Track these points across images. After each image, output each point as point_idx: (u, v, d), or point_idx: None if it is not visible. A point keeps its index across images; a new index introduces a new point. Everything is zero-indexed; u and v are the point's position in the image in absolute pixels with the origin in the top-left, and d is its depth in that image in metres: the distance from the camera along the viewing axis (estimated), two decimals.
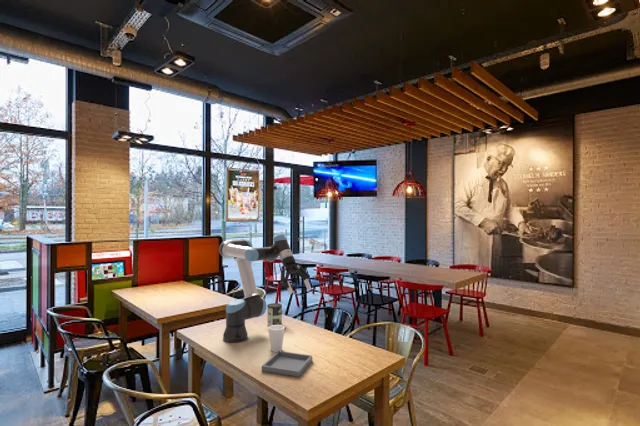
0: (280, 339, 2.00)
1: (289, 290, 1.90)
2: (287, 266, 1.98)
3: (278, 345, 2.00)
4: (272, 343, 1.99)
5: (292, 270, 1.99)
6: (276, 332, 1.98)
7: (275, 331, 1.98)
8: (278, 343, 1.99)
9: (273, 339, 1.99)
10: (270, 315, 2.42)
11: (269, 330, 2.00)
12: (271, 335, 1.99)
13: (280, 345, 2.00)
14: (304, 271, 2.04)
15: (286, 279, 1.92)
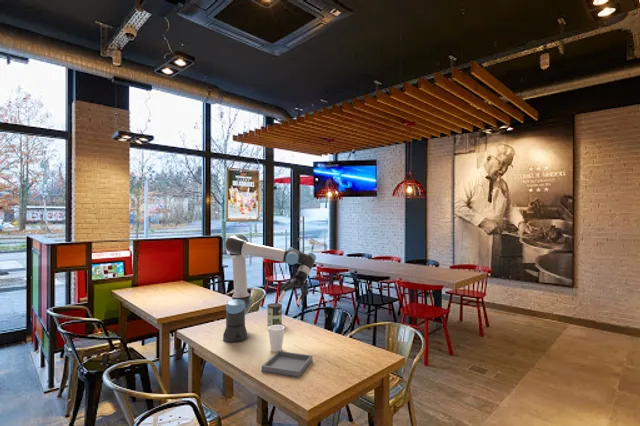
0: (280, 339, 2.00)
1: (299, 300, 2.10)
2: None
3: (278, 345, 2.00)
4: (272, 343, 1.99)
5: None
6: (276, 332, 1.98)
7: (275, 331, 1.98)
8: (278, 343, 1.99)
9: (273, 339, 1.99)
10: (270, 315, 2.42)
11: (269, 330, 2.00)
12: (271, 335, 1.99)
13: (280, 345, 2.00)
14: None
15: None
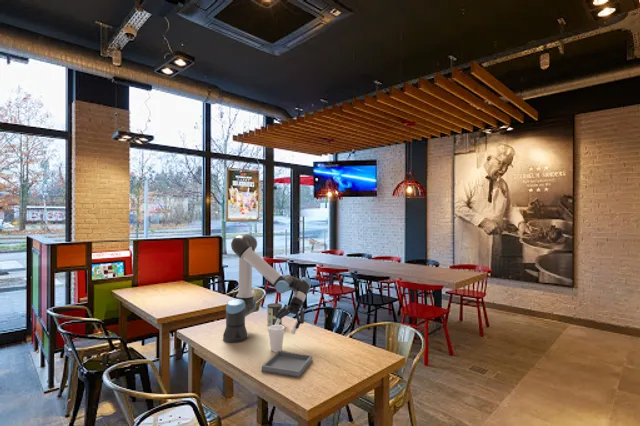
0: (280, 339, 2.00)
1: (294, 330, 2.03)
2: None
3: (278, 345, 2.00)
4: (272, 343, 1.99)
5: None
6: (276, 332, 1.98)
7: (275, 331, 1.98)
8: (278, 343, 1.99)
9: (273, 339, 1.99)
10: (270, 315, 2.42)
11: (269, 330, 2.00)
12: (271, 335, 1.99)
13: (280, 345, 2.00)
14: None
15: None
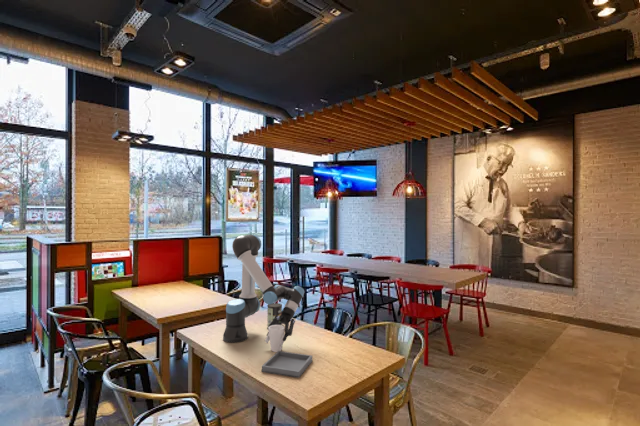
0: (280, 339, 2.00)
1: (281, 342, 1.98)
2: None
3: (278, 345, 2.00)
4: (272, 343, 1.99)
5: None
6: (276, 332, 1.98)
7: (275, 331, 1.98)
8: (278, 343, 1.99)
9: (273, 339, 1.99)
10: (270, 315, 2.42)
11: (269, 330, 2.00)
12: (271, 335, 1.99)
13: None
14: (274, 324, 2.11)
15: None
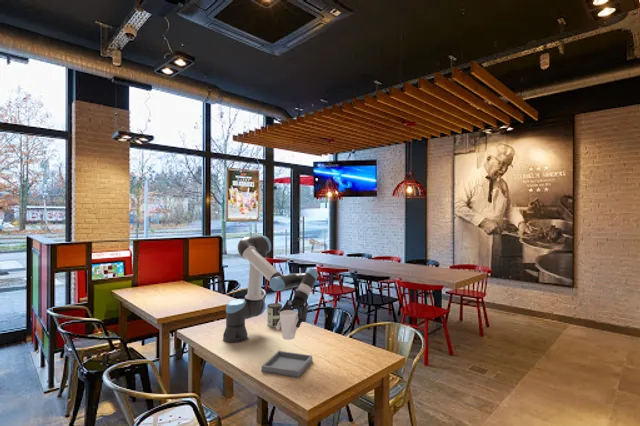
0: (293, 325, 1.79)
1: (295, 329, 1.77)
2: None
3: (291, 332, 1.78)
4: (284, 330, 1.78)
5: None
6: (289, 318, 1.77)
7: (288, 316, 1.77)
8: (291, 330, 1.78)
9: (285, 325, 1.78)
10: (270, 315, 2.42)
11: (281, 315, 1.79)
12: (283, 321, 1.78)
13: None
14: None
15: None
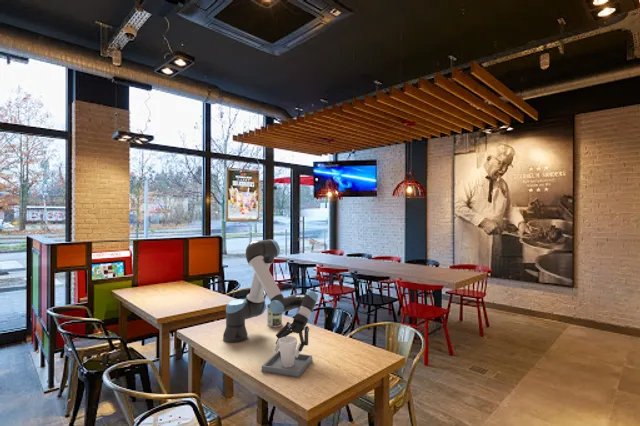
0: (292, 353, 1.78)
1: (297, 353, 1.76)
2: None
3: (290, 360, 1.78)
4: (283, 358, 1.78)
5: None
6: (288, 345, 1.76)
7: (286, 344, 1.76)
8: (290, 358, 1.78)
9: (284, 353, 1.77)
10: (270, 315, 2.42)
11: (280, 343, 1.78)
12: (282, 349, 1.77)
13: (292, 360, 1.79)
14: None
15: None
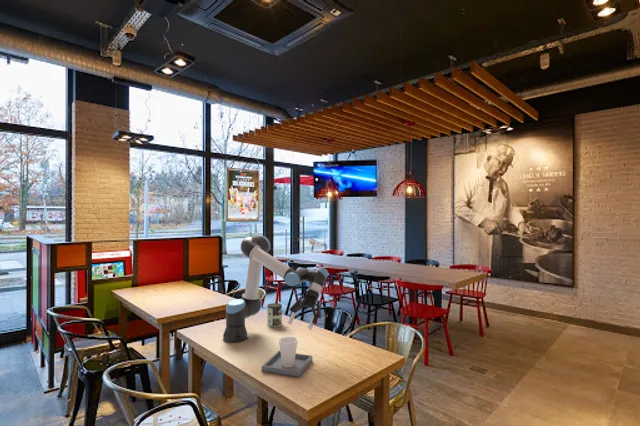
0: (293, 353, 1.78)
1: (311, 325, 1.89)
2: None
3: (290, 360, 1.78)
4: (284, 358, 1.78)
5: None
6: (288, 345, 1.76)
7: (287, 344, 1.76)
8: (291, 358, 1.78)
9: (285, 353, 1.77)
10: (270, 315, 2.42)
11: (280, 343, 1.78)
12: (282, 349, 1.77)
13: (292, 360, 1.79)
14: None
15: None
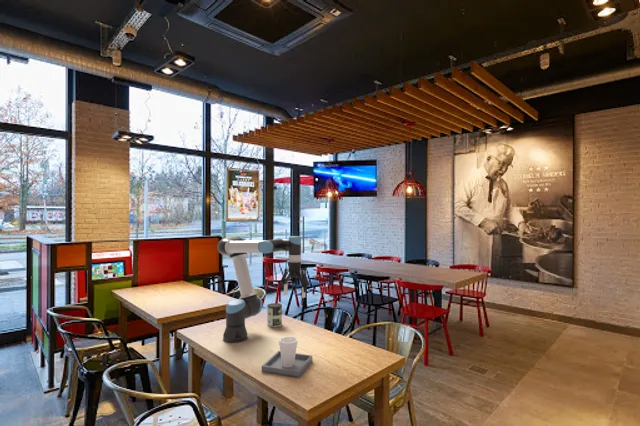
0: (292, 353, 1.78)
1: (304, 294, 2.09)
2: None
3: (290, 360, 1.78)
4: (284, 358, 1.78)
5: None
6: (288, 345, 1.76)
7: (287, 344, 1.76)
8: (291, 358, 1.78)
9: (285, 353, 1.77)
10: (270, 315, 2.42)
11: (280, 343, 1.78)
12: (282, 349, 1.77)
13: (292, 360, 1.79)
14: None
15: None
